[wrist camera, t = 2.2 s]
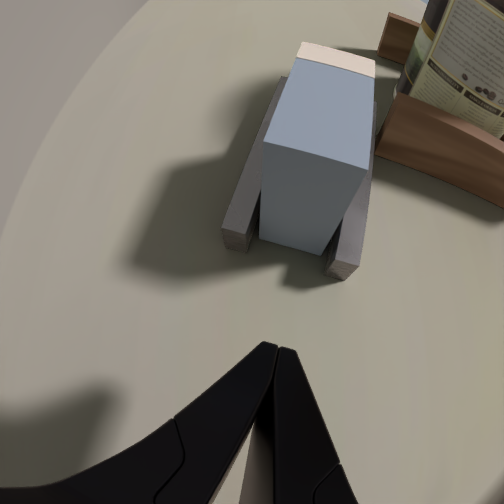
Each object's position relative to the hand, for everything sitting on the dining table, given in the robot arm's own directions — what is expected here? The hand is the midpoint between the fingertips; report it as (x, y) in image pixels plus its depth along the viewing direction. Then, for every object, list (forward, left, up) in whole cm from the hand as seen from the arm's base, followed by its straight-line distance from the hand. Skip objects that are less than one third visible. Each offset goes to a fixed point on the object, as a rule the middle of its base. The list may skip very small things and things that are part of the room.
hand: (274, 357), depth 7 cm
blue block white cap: (+10, 0, -8) cm, 13 cm away
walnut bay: (+22, -10, -8) cm, 26 cm away
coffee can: (+22, -10, -8) cm, 26 cm away
